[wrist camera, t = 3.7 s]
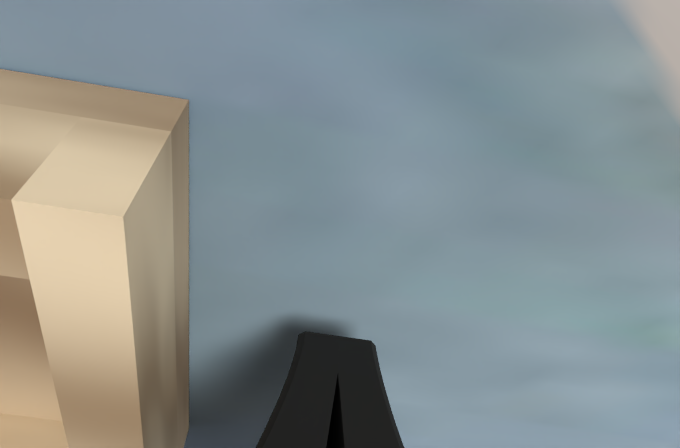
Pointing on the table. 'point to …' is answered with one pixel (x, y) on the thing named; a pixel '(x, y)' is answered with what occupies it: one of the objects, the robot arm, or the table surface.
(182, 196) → the socket block
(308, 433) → the robot arm
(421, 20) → the table surface
